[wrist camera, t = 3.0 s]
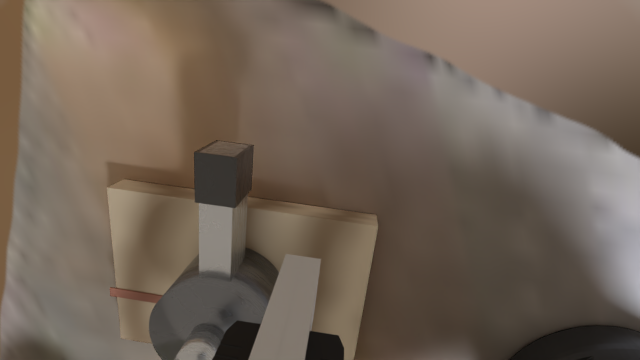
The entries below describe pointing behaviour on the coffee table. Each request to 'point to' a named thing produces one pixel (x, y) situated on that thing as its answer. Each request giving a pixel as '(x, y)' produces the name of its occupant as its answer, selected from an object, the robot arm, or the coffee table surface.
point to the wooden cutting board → (261, 236)
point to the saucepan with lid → (215, 263)
